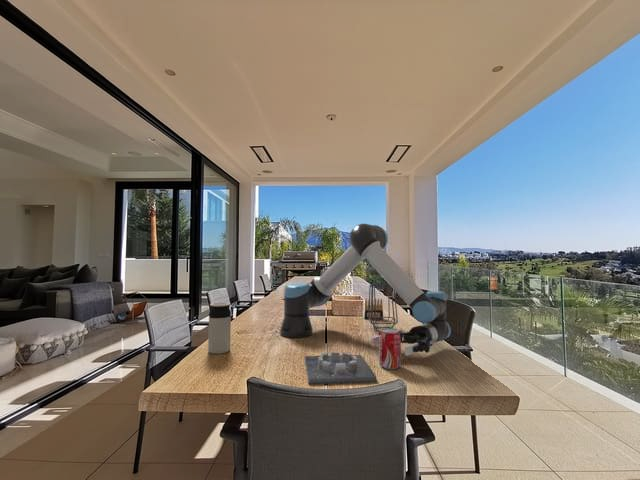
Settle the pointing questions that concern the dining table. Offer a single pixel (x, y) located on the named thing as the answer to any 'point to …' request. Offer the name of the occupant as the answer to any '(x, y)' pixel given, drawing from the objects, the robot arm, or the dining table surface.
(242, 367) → the dining table surface
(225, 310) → the travel mug
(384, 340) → the soda can
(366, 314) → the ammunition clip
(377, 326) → the geometric lantern
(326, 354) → the square lugged base plate
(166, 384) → the dining table surface
